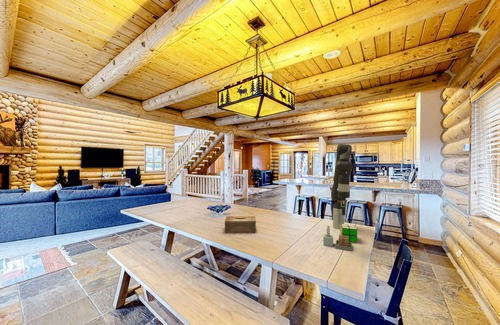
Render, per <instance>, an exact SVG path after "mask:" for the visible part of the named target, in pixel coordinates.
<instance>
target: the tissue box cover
mask: <svg viewBox="0 0 500 325" xmlns="http://www.w3.org/2000/svg"><path fill="white" fill-rule="evenodd" d="M256 220H257V219H256V215H244V216H243V215H242V216H241V215H239V216H238V215H232V216H231V215H229V216H226V217H225V220H224V234H236V233H237V234H239V233H240V234H245V233H247V234H248V233H249V234H251V233H252V234H253V233H257V232H256V231H257V224H256V223H257V221H256Z"/></svg>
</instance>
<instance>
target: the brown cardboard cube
mask: <svg viewBox="0 0 500 325" xmlns="http://www.w3.org/2000/svg"><path fill="white" fill-rule="evenodd" d="M338 240H339V246H345V247H348V236H343V235H340V234H339V235H338Z"/></svg>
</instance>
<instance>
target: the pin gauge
mask: <svg viewBox="0 0 500 325" xmlns="http://www.w3.org/2000/svg"><path fill="white" fill-rule="evenodd" d="M330 230H331V228H330V225H326V234H327V237H330V235H331V234H330Z"/></svg>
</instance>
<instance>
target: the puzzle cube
mask: <svg viewBox="0 0 500 325" xmlns="http://www.w3.org/2000/svg"><path fill="white" fill-rule="evenodd" d="M339 230H340V232H339V233H340V234H339V235H343V236H348V242H352V243H356V244H357V243H358V228H356V225H354V224H345V223H344V224H341V227H340V229H339Z"/></svg>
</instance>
